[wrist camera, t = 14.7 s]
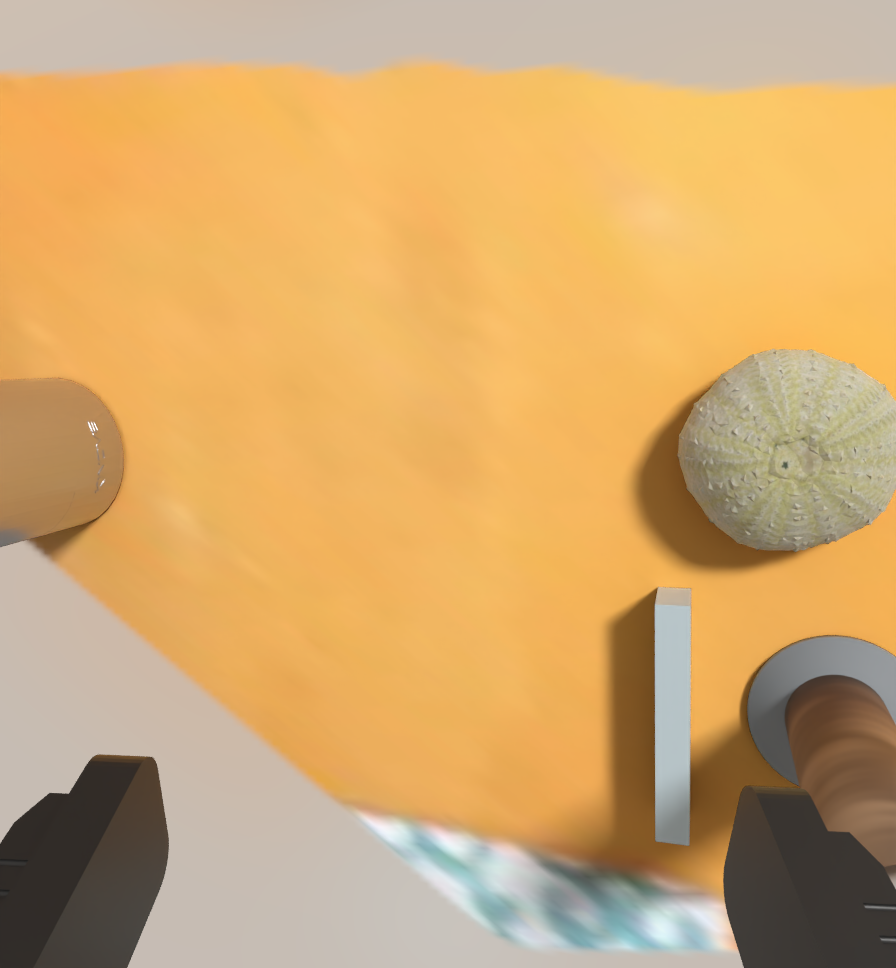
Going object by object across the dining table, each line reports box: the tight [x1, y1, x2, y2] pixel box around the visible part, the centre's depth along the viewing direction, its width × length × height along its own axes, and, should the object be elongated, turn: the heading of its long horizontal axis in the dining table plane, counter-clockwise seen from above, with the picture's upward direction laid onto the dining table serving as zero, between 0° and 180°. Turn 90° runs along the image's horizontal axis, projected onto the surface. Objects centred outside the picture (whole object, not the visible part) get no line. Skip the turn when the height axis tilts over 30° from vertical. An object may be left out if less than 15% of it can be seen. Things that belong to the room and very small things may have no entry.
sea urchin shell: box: [677, 349, 896, 552], centre depth 37 cm, size 9×8×8 cm
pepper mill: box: [784, 675, 896, 889], centre depth 31 cm, size 5×5×18 cm
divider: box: [655, 587, 691, 846], centre depth 40 cm, size 2×12×3 cm, turn 2°
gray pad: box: [747, 635, 896, 786], centre depth 39 cm, size 8×8×1 cm
